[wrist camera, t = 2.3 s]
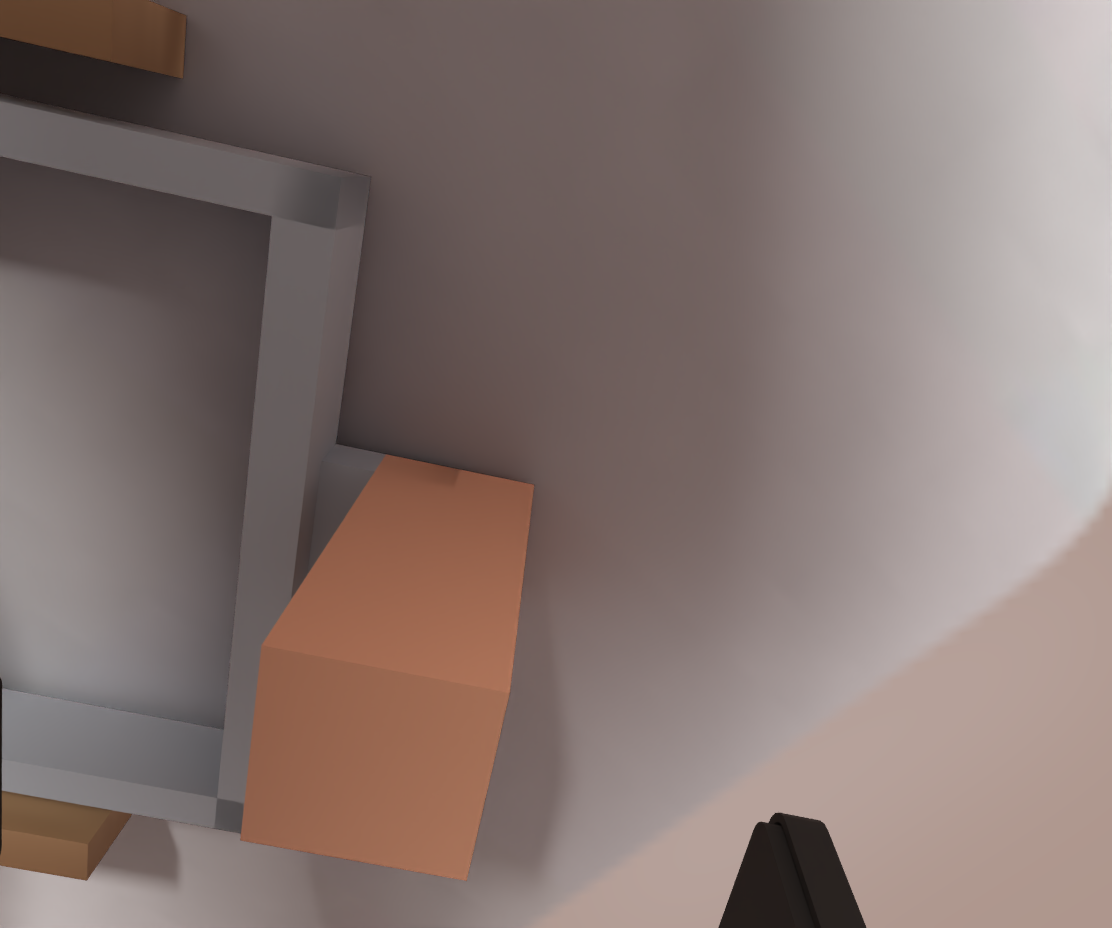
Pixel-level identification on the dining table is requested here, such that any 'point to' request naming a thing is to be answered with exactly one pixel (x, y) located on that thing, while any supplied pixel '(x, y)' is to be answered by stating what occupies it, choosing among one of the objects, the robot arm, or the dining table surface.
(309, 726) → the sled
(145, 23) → the brown wooden arch frame
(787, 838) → the robot arm
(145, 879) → the dining table surface
